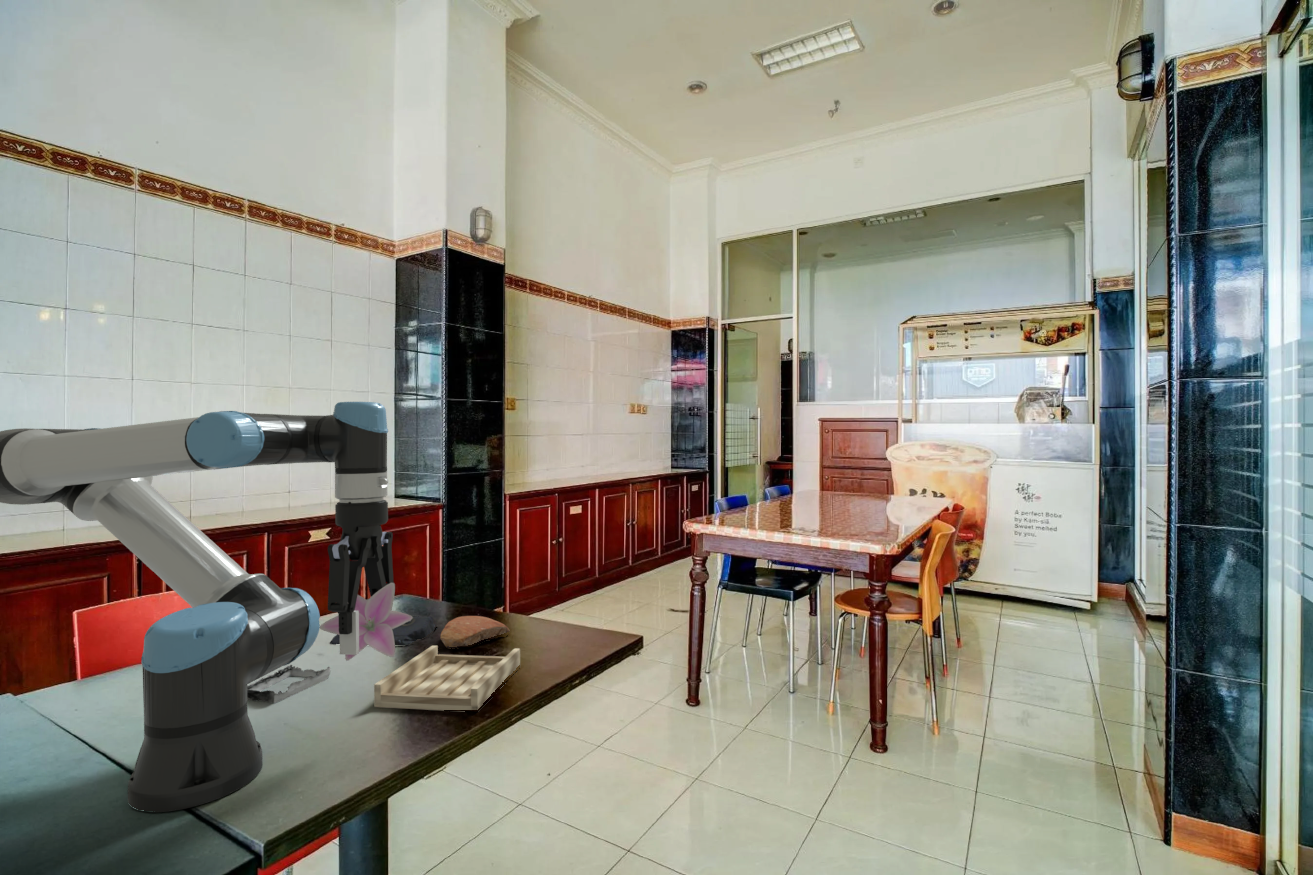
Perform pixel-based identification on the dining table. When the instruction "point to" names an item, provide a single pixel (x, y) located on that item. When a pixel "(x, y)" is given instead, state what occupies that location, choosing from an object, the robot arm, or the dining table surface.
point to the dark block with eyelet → (407, 631)
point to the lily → (374, 621)
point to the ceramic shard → (470, 630)
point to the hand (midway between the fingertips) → (363, 645)
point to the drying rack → (444, 681)
